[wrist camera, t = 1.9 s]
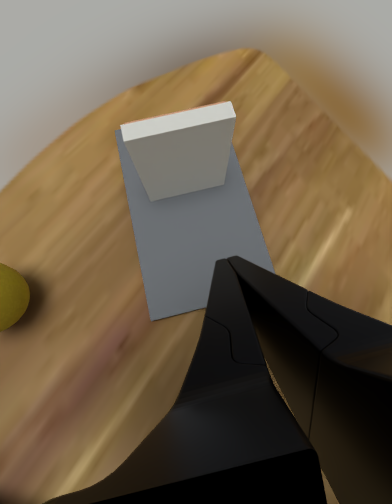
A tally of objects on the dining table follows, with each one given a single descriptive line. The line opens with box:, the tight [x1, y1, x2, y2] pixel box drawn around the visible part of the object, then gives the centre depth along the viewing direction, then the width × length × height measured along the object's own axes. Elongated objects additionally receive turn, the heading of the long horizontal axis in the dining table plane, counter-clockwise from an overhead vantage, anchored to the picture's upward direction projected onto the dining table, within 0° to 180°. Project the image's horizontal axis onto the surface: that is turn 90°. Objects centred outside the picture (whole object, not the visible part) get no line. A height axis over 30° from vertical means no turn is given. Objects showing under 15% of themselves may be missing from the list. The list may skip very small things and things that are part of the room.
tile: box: [120, 101, 236, 201], centre depth 19 cm, size 2×7×8 cm, turn 104°
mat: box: [115, 129, 275, 321], centre depth 22 cm, size 19×11×1 cm, turn 14°
